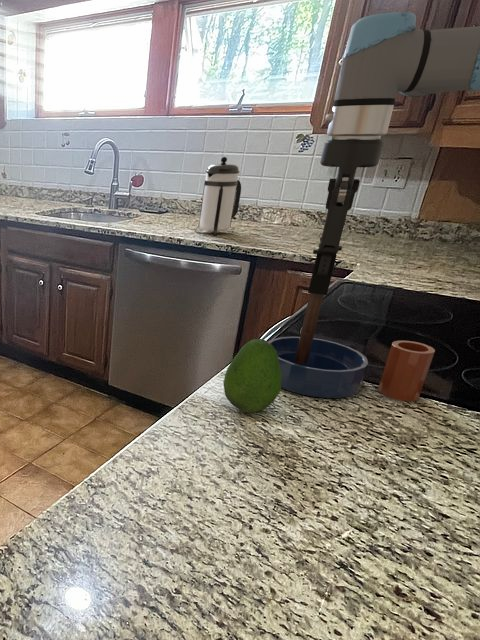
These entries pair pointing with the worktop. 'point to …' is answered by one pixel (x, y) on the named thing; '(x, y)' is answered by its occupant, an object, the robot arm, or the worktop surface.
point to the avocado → (253, 377)
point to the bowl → (321, 368)
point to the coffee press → (220, 197)
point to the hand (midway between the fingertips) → (317, 291)
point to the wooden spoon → (308, 328)
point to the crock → (405, 370)
